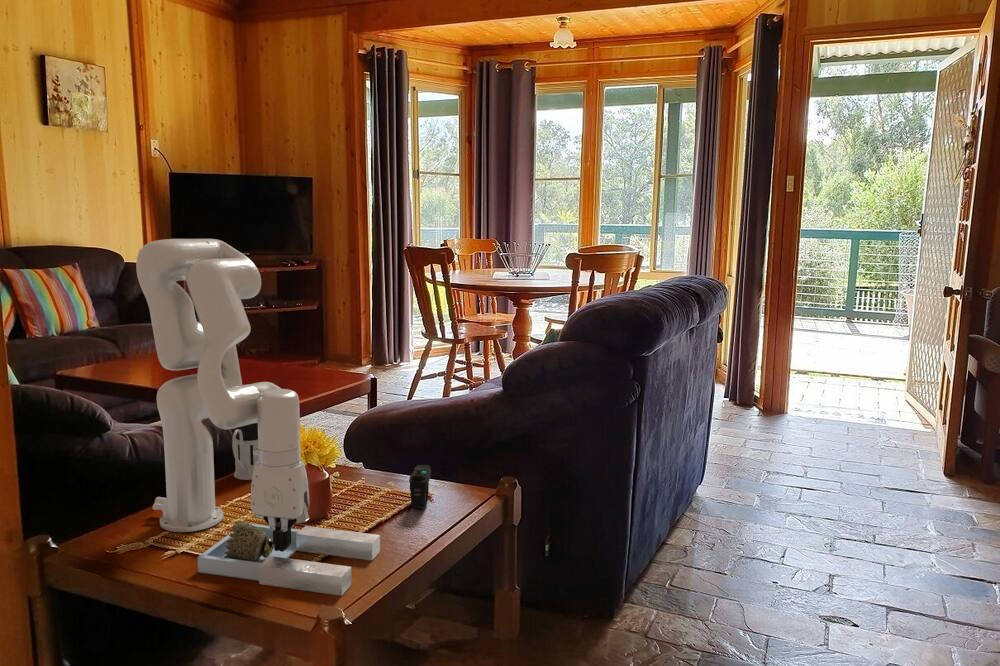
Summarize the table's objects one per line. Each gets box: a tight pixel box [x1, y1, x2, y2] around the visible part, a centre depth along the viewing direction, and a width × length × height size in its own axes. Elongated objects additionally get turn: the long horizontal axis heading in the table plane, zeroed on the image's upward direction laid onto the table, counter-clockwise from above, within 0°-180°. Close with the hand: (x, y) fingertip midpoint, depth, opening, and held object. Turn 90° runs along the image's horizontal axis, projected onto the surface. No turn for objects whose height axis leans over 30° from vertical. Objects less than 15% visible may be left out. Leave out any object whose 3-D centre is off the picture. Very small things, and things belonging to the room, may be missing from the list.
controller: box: [408, 464, 432, 509], centre depth 173 cm, size 4×12×10 cm, turn 179°
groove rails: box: [258, 525, 381, 597], centre depth 142 cm, size 16×18×4 cm
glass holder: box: [231, 423, 259, 481], centre depth 187 cm, size 9×14×15 cm, turn 174°
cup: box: [224, 519, 274, 562], centre depth 144 cm, size 8×7×8 cm
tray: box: [197, 522, 301, 582], centre depth 145 cm, size 13×16×3 cm
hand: (282, 548), depth 144 cm, fingers closed
